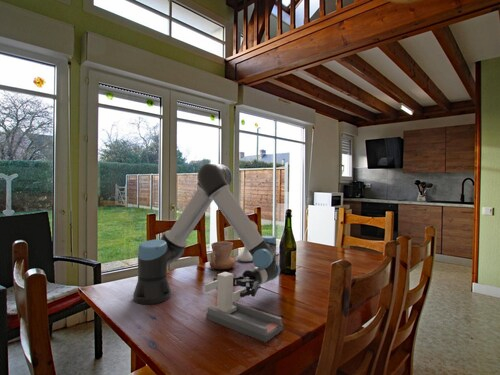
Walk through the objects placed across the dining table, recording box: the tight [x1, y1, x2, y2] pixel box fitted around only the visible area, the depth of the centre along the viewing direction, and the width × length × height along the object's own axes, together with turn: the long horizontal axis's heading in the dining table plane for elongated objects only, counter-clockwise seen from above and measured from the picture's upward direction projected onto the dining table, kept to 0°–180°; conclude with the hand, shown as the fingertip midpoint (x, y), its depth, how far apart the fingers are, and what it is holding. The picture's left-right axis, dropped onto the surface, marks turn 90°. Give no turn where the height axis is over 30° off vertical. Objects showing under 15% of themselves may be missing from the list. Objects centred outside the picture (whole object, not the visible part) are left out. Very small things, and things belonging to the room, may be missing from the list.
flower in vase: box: [236, 220, 258, 262], centre depth 185 cm, size 13×11×25 cm
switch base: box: [205, 301, 284, 343], centre depth 103 cm, size 26×10×4 cm, turn 53°
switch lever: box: [212, 271, 237, 314], centre depth 108 cm, size 6×6×13 cm
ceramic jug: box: [209, 241, 236, 271], centre depth 168 cm, size 18×14×14 cm
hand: (218, 292), depth 105 cm, fingers open, 13 cm apart
